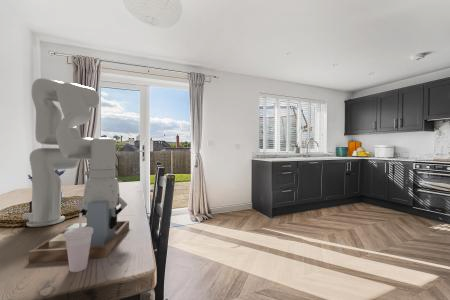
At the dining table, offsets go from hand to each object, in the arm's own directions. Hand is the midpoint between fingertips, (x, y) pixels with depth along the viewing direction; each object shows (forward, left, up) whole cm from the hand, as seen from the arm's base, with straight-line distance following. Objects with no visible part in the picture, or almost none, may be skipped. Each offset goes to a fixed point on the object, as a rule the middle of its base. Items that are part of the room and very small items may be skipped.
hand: (102, 227), depth 73 cm
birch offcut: (-9, -4, -5) cm, 11 cm away
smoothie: (+1, -17, -5) cm, 18 cm away
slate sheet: (0, 0, -5) cm, 5 cm away
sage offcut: (-9, +4, -5) cm, 11 cm away
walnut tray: (-4, 0, -5) cm, 6 cm away
